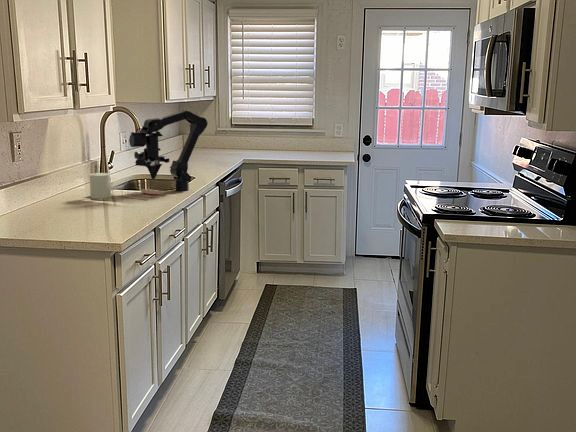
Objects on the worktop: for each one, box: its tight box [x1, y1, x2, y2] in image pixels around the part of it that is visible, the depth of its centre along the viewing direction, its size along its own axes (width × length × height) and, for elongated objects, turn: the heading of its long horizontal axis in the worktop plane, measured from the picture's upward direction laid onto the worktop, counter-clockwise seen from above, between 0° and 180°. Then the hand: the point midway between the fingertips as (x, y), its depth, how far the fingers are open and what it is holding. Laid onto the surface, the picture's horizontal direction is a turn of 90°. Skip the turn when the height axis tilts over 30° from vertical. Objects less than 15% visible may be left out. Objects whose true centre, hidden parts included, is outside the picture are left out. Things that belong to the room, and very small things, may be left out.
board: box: [115, 191, 167, 202], centre depth 270 cm, size 15×18×1 cm
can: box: [88, 172, 112, 202], centre depth 266 cm, size 9×9×12 cm
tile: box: [140, 188, 167, 195], centre depth 278 cm, size 2×8×9 cm
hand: (153, 178), depth 276 cm, fingers closed
